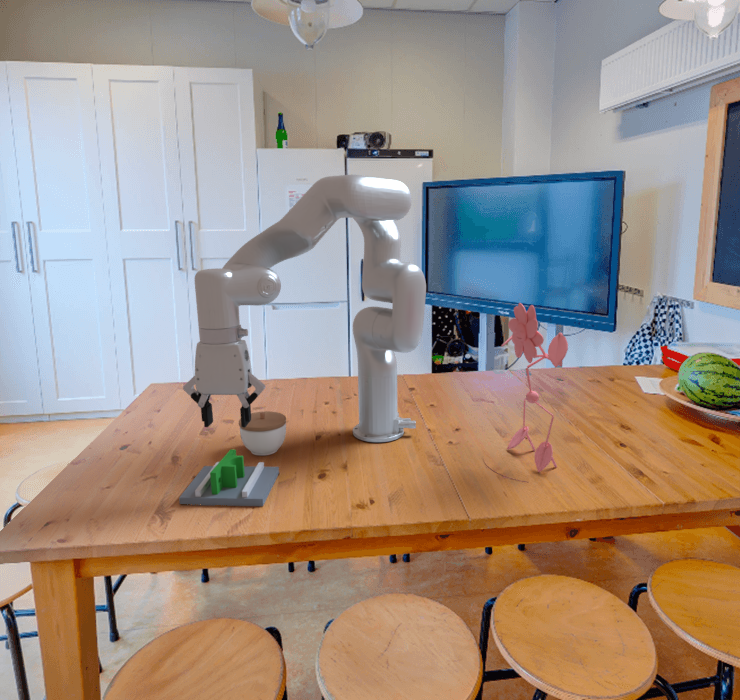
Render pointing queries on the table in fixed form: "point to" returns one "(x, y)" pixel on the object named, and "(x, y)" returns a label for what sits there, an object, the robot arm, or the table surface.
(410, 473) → the table surface
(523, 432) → the figurine
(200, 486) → the rail board
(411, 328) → the robot arm
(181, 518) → the table surface
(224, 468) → the pipe clamp
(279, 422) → the lidded jar
